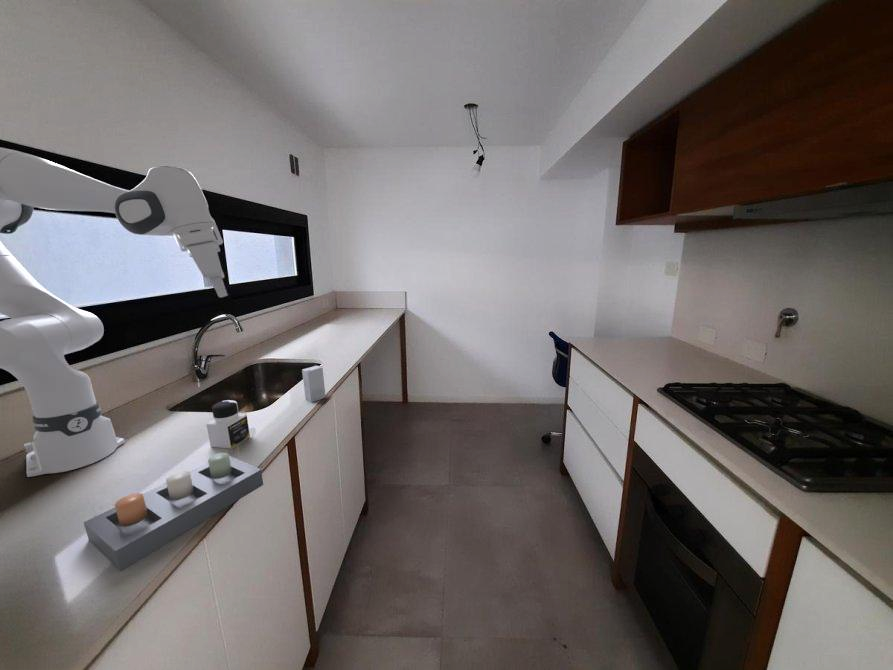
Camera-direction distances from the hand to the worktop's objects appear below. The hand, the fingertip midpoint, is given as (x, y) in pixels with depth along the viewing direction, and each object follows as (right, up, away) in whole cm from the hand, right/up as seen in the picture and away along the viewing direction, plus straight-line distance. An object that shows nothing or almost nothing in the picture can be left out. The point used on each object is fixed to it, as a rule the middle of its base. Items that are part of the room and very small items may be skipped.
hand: (223, 296), depth 86 cm
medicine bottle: (-8, -40, +15) cm, 44 cm away
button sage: (+3, -41, -6) cm, 41 cm away
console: (-1, -46, -12) cm, 48 cm away
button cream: (-1, -42, -13) cm, 44 cm away
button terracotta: (-5, -44, -20) cm, 48 cm away
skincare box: (+6, -33, +45) cm, 56 cm away
